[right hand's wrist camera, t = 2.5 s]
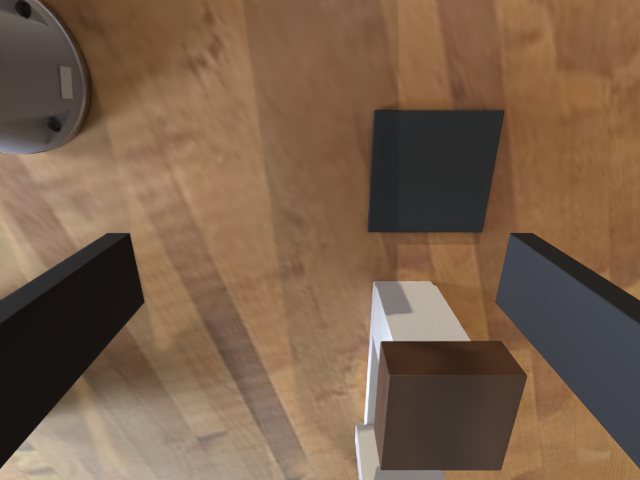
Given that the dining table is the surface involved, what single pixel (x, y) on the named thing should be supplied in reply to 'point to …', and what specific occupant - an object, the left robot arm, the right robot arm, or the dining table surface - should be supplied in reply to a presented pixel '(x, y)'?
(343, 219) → the dining table surface
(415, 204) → the slate mat
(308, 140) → the dining table surface
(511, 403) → the walnut cap
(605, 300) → the right robot arm
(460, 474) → the dining table surface
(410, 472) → the bracket
